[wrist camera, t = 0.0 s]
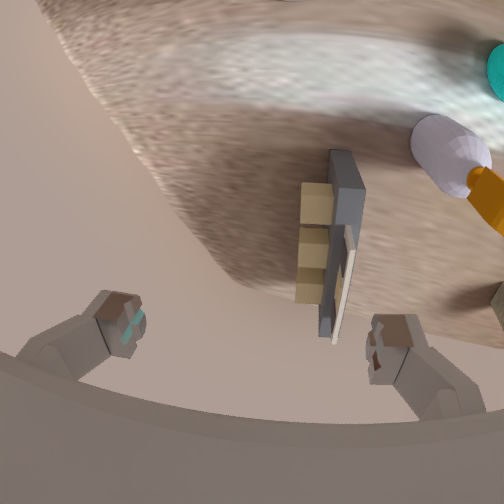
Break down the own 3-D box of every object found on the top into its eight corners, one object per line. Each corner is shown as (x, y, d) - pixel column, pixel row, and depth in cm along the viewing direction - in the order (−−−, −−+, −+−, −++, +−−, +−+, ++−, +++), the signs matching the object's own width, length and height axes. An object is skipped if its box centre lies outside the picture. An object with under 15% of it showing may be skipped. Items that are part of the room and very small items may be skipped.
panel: (329, 149, 45) (343, 209, 29) (350, 150, 44) (374, 211, 29) (318, 277, 59) (318, 363, 43) (334, 278, 58) (339, 364, 43)
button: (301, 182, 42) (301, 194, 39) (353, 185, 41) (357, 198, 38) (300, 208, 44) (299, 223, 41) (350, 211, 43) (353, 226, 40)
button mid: (299, 227, 46) (298, 242, 43) (347, 230, 45) (350, 246, 42) (298, 250, 48) (297, 266, 45) (344, 253, 48) (346, 269, 44)
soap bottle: (444, 179, 44) (519, 278, 24) (399, 153, 43) (466, 246, 23) (470, 132, 38) (567, 208, 19) (425, 102, 38) (519, 160, 18)
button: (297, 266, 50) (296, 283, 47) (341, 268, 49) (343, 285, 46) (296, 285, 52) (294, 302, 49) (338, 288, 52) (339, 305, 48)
